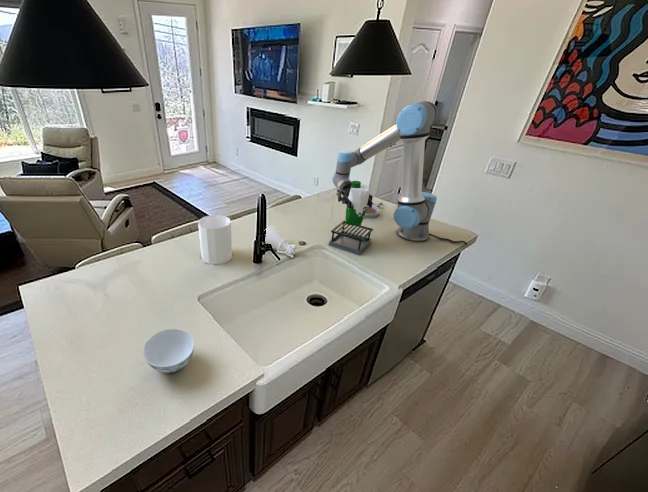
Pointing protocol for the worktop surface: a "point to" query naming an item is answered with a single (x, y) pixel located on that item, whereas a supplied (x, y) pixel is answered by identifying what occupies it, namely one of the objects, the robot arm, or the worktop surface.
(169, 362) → the chinaware
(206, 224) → the container
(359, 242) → the dish rack
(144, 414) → the worktop surface
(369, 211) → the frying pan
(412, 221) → the robot arm
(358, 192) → the soya milk
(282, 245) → the rocket engine
